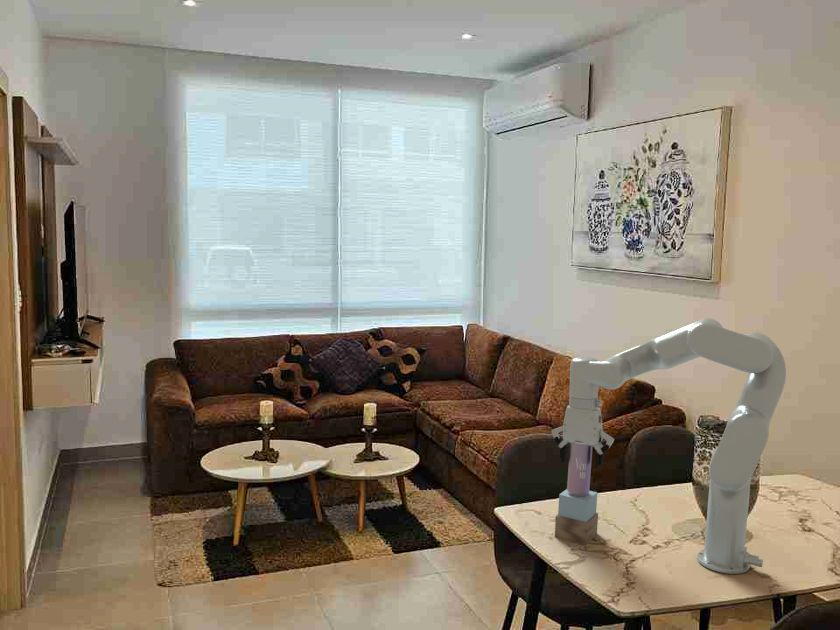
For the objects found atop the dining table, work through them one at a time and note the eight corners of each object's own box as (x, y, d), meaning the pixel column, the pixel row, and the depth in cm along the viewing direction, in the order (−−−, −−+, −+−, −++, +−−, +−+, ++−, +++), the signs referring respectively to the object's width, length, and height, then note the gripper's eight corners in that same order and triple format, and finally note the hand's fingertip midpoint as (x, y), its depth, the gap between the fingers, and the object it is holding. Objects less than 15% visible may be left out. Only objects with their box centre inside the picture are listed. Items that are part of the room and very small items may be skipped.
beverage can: (587, 490, 214) (591, 438, 212) (590, 497, 208) (594, 443, 206) (566, 488, 214) (569, 436, 213) (567, 496, 208) (571, 442, 207)
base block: (596, 533, 214) (598, 512, 213) (586, 544, 206) (587, 523, 206) (566, 526, 219) (567, 506, 218) (554, 537, 211) (555, 516, 210)
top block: (596, 513, 213) (597, 492, 212) (586, 522, 206) (587, 500, 206) (568, 506, 217) (569, 486, 217) (558, 515, 211) (559, 494, 210)
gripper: (618, 404, 207) (616, 465, 209) (557, 396, 216) (556, 455, 218) (610, 409, 200) (608, 473, 202) (548, 401, 209) (546, 462, 211)
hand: (581, 464), depth 210 cm, fingers open, 9 cm apart
